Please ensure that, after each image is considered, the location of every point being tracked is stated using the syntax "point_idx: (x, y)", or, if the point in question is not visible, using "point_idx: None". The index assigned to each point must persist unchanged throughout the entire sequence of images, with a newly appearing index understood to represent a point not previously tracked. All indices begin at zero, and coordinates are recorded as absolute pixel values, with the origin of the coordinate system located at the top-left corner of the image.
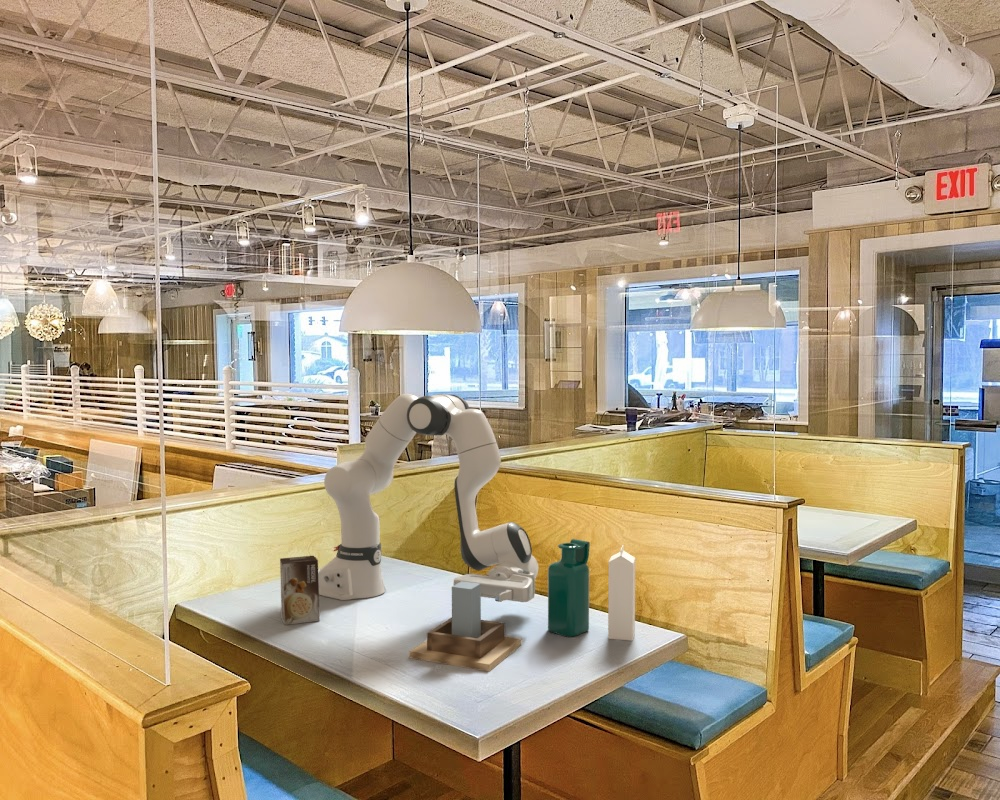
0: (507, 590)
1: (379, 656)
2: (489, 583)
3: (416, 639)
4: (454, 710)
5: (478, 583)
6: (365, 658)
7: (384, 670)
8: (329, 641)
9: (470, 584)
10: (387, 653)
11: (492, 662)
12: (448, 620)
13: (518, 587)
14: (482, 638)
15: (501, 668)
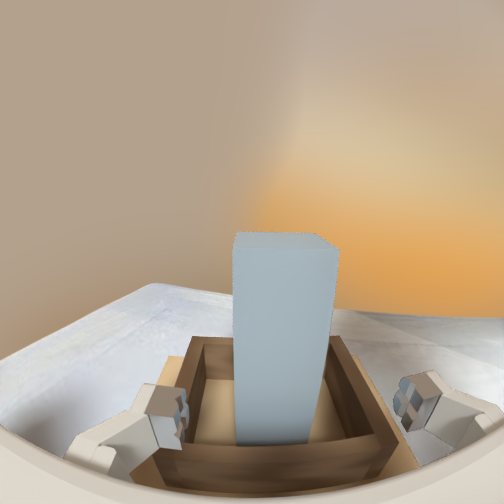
0: (101, 446)
1: (395, 350)
2: (337, 500)
3: None
4: (188, 297)
5: (244, 247)
6: (401, 340)
7: (340, 330)
8: (490, 344)
9: (271, 242)
10: (399, 361)
11: (165, 365)
12: (373, 405)
13: (8, 433)
14: (191, 345)
15: (149, 380)
